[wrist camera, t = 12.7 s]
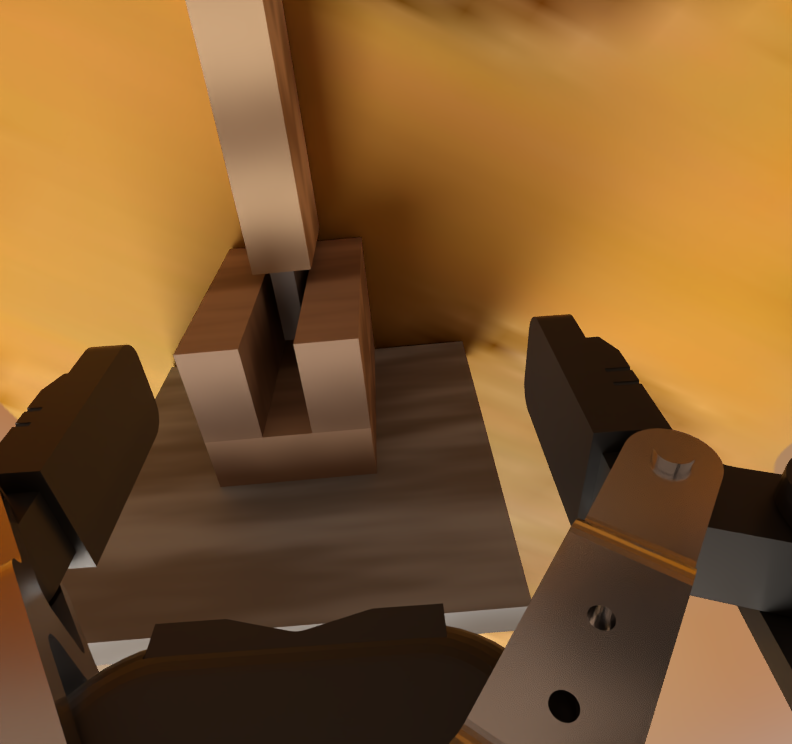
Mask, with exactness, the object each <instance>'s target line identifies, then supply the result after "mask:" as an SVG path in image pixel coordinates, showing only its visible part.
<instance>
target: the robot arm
mask: <svg viewBox="0 0 792 744" xmlns="http://www.w3.org/2000/svg"><path fill="white" fill-rule="evenodd" d="M524 388H525V399H526V405H527V409H528V412H529V414H530V417H531V420H532V422H533V425H534V428H535V430H536V433H537V436H538V438H539V441H540V444H541V447H542V449H543V452H544V455H545V457H546V460H547V463H548V465H549V468H550V471H551V473H552V476H553V479H554V481H555V484H556V487H557V490H558V492H559V495H560V498H561V500H562V503H563V506H564V508H565V511H566V514H567V516H568V519H569V522H570V525H571V528H570V529H569V531H568V533H567V535H566V537H565V538H564V540H563V542H562V544H561V546H560V548H559V549H558V551H557V553H556V555H555V557H554V559H553V561H552V562H551V564H550V566H549V568H548V570H547V572H546V573H545V575H544V577H543V579H542V581H541V583H540V585H539V586H538V588H537V590H536V592H535V594H534V596H533V597H532V599H531V601H530V603H529V605H528V607H527V609H526V610H525V612H524V614H523V616H522V618H521V620H520V621H519V623H518V625H517V627H516V629H515V631H514V633H513V634H512V636H511V638H510V640H509V642H508V644H507V645H506V647H505V648H504V647H502V646H501V645H499V644H497V643H496V642H494V641H492V640H490V639H487V638H485V637H483V636H481V635H478V634H476V633H473V632H470V631H466V630H463V629H460V628H455V627H450V626H446V623H445V615H444V606H443V603H441V604H427V605H413V606H399V607H385V608H372V609H369V610H366V611H363V612H360V613H356V614H353V615H350V616H347V617H344V618H341V619H338V620H334V621H331V622H328V623H325V624H322V625H319V626H316V627H312V628H309V629H306V630H302V631H288V630H282V629H277V628H272V627H266V626H261V625H256V624H250V623H245V622H240V621H235V620H229V619H218V620H204V621H190V622H176V623H162V624H155V626H154V629H153V632H152V636H151V639H150V642H149V645H148V648H147V649H146V650H143V651H140V652H137V653H135V654H133V655H131V656H128V657H126V658H124V659H122V660H120V661H118V662H116V663H114V664H112V665H111V666H109V667H107V668H105V669H104V670H102V671H101V672H99V671H98V669H97V666H96V664H95V662H94V659H93V656H92V654H91V651H90V649H89V646H88V644H87V641H86V638H85V636H84V633H83V631H82V628H81V625H80V623H79V620H78V618H77V615H76V613H75V610H74V607H73V605H72V602H71V600H70V597H69V594H68V592H67V590H66V588H65V587H64V585H63V584H62V582H61V581H62V579H63V577H64V575H65V573H66V571H67V569H73V568H87V567H97V565H98V562H99V560H100V558H101V556H102V554H103V552H104V549H105V547H106V545H107V543H108V541H109V538H110V536H111V534H112V532H113V530H114V528H115V525H116V523H117V521H118V519H119V517H120V514H121V512H122V510H123V508H124V506H125V504H126V501H127V499H128V497H129V495H130V493H131V491H132V488H133V486H134V484H135V482H136V480H137V477H138V475H139V473H140V471H141V469H142V467H143V464H144V462H145V460H146V458H147V456H148V453H149V451H150V449H151V447H152V445H153V443H154V440H155V438H156V436H157V433H158V429H159V412H158V407H157V404H156V401H155V399H154V396H153V393H152V391H151V388H150V386H149V383H148V380H147V378H146V375H145V373H144V370H143V367H142V365H141V362H140V360H139V357H138V355H137V353H136V351H135V349H134V348H133V347H132V346H130V345H116V346H102V347H91V348H88V349H87V350H86V351H85V352H84V353H83V355H82V356H81V357H80V358H79V360H78V361H77V362H76V364H75V365H74V366H73V368H72V369H71V370H70V372H69V373H67V374H63V375H62V376H60V377H59V378H58V379H56V380H55V381H54V382H52V383H51V384H49V385H48V386H47V387H45V388H44V389H42V390H41V391H40V393H39V394H38V395H37V396H36V398H35V399H34V400H33V402H32V403H31V404H30V405H29V407H28V408H27V409H28V411H27V412H24V413H23V414H22V415H21V417H20V418H19V419H18V421H17V422H16V427H12V428H11V429H10V431H9V432H8V433H7V435H6V436H5V437H4V438H3V440H2V441H1V442H0V744H645V741H646V737H647V734H648V731H649V728H650V725H651V721H652V718H653V715H654V711H655V708H656V705H657V701H658V698H659V695H660V692H661V688H662V685H663V682H664V678H665V675H666V671H667V669H668V665H669V662H670V658H671V655H672V652H673V649H674V645H675V642H676V639H677V636H678V632H679V629H680V625H681V622H682V619H683V616H684V612H685V609H686V606H687V603H688V599H689V596H690V595H691V596H696V597H700V598H705V599H709V600H714V601H719V602H723V603H728V604H733V605H737V606H738V608H739V610H740V612H741V614H742V616H743V618H744V619H745V622H746V624H747V626H748V628H749V629H750V631H751V633H752V635H753V637H754V639H755V641H756V643H757V645H758V647H759V649H760V651H761V653H762V654H763V656H764V658H765V660H766V662H767V664H768V666H769V668H770V670H771V672H772V674H773V675H774V678H775V679H776V681H777V683H778V685H779V687H780V689H781V691H782V693H783V695H784V697H785V699H786V701H787V703H788V704H789V706H790V708H791V710H792V459H791V460H790V461H789V462H788V464H787V466H786V468H785V470H784V472H783V474H782V475H781V474H775V473H768V472H762V471H756V470H749V469H743V468H737V467H732V466H727V465H724V464H722V461H721V459H720V458H719V456H718V455H717V453H716V452H715V451H714V450H713V449H712V448H711V447H709V446H708V445H707V444H706V443H704V442H702V441H701V440H699V439H697V438H695V437H693V436H691V435H689V434H686V433H683V432H680V431H676V430H672V428H671V427H670V425H669V424H668V422H667V421H666V419H665V418H664V416H663V415H662V413H661V412H660V410H659V409H658V408H657V406H656V405H655V403H654V402H653V400H652V399H651V397H650V396H649V394H648V393H647V391H646V390H645V388H644V387H643V385H642V384H639V379H638V378H637V376H636V375H635V373H634V372H633V371H632V370H630V366H629V365H628V363H627V362H626V360H625V359H624V357H623V356H622V354H621V353H620V351H619V350H618V349H616V348H615V347H613V346H612V345H610V344H609V343H607V342H606V341H604V340H603V339H601V338H600V337H589V338H586V337H585V336H584V334H583V332H582V331H581V329H580V327H579V326H578V324H577V322H576V321H575V319H574V318H573V316H572V315H570V314H568V315H553V316H539V317H533V318H532V319H531V322H530V327H529V337H528V348H527V359H526V369H525V381H524Z"/></svg>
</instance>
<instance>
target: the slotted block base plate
mask: <svg viewBox="0 0 792 744" xmlns="http://www.w3.org/2000/svg"><path fill="white" fill-rule="evenodd" d="M173 356H174V359H175V362H176V365H177V367H172V368H171V370H170V372H169V374H168V376H167V378H166V380H165V381H164V383H163V385H162V387H161V389H160V391H159V393H158V395H157V397H156V399H155V401H156V404H157V407H158V412H159V429H158V433H157V436H156V438H155V440H154V443H153V445H152V447H151V449H150V451H149V453H148V456H147V458H146V460H145V462H144V464H143V467H142V469H141V471H140V473H139V475H138V477H137V480H136V482H135V484H134V486H133V488H132V491H131V493H130V495H129V497H128V499H127V501H126V504H125V506H124V508H123V510H122V512H121V514H120V517H119V519H118V521H117V523H116V525H115V528H114V530H113V532H112V534H111V536H110V538H109V541H108V543H107V545H106V547H105V549H104V552H103V554H102V556H101V558H100V560H99V562H98V565H97V567H87V568H73V569H67V571H66V573H65V575H64V577H63V579H62V581H61V582H62V584H63V585H64V587H65V588H66V590H67V592H68V594H69V597H70V600H71V602H72V605H73V607H74V610H75V613H76V615H77V618H78V620H79V623H80V625H81V628H82V631H83V633H84V636H85V638H86V641H87V644H88V646H89V649H90V651H91V654H92V656H93V659H94V662H95V664H96V666H97V665H108V664H114V663H116V662H118V661H120V660H122V659H124V658H126V657H128V656H131V655H133V654H135V653H137V652H140V651H143V650H146V649H147V648H148V645H149V642H150V639H151V636H152V632H153V629H154V626H155V624H162V623H176V622H190V621H204V620H218V619H229V620H235V621H240V622H245V623H250V624H256V625H261V626H266V627H272V628H277V629H282V630H288V631H302V630H306V629H309V628H312V627H316V626H319V625H322V624H325V623H328V622H331V621H334V620H338V619H341V618H344V617H347V616H350V615H353V614H356V613H360V612H363V611H366V610H369V609H372V608H385V607H399V606H413V605H427V604H441V603H443V606H444V615H445V623H446V626H450V627H455V628H460V629H463V630H466V631H470V632H473V633H476V634H481V633H493V632H505V631H515V629H516V627H517V625H518V623H519V621H520V620H521V618H522V616H523V614H524V612H525V610H526V609H527V607H528V605H529V603H530V601H531V597H530V593H529V590H528V586H527V582H526V578H525V575H524V571H523V567H522V563H521V560H520V556H519V552H518V548H517V545H516V541H515V537H514V533H513V530H512V526H511V522H510V518H509V515H508V511H507V507H506V503H505V500H504V496H503V492H502V488H501V485H500V481H499V477H498V473H497V470H496V466H495V462H494V458H493V455H492V451H491V447H490V443H489V440H488V436H487V432H486V428H485V425H484V421H483V417H482V413H481V410H480V406H479V402H478V398H477V395H476V391H475V387H474V383H473V380H472V376H471V372H470V368H469V365H468V361H467V357H466V353H465V350H464V346H463V342H462V341H460V342H449V343H437V344H426V345H415V346H404V347H393V348H382V349H375V347H374V338H373V330H372V322H371V313H370V305H369V297H368V288H367V280H366V271H365V263H364V255H363V246H362V238H361V237H357V238H346V239H335V240H324V241H317V243H316V247H315V252H314V257H313V262H312V267H311V270H309V273H308V278H307V283H306V287H305V292H304V297H303V301H302V306H301V311H300V316H299V320H298V325H297V330H296V334H295V339H294V340H285V338H284V333H283V329H282V324H281V320H280V316H279V311H278V307H277V302H276V298H275V293H274V289H273V284H272V280H271V276H270V273H268V274H257V275H252V271H251V267H250V263H249V259H248V255H247V251H246V248H237V249H230V250H229V252H228V254H227V256H226V258H225V259H224V261H223V263H222V265H221V267H220V269H219V271H218V272H217V274H216V276H215V278H214V280H213V282H212V284H211V285H210V287H209V289H208V291H207V293H206V295H205V297H204V299H203V300H202V302H201V304H200V306H199V308H198V310H197V312H196V313H195V315H194V317H193V319H192V321H191V323H190V325H189V326H188V328H187V330H186V332H185V334H184V336H183V338H182V339H181V341H180V343H179V345H178V347H177V349H176V351H175V353H174V354H173Z"/></svg>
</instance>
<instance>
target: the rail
mask: <svg viewBox="0 0 792 744" xmlns="http://www.w3.org/2000/svg"><path fill="white" fill-rule="evenodd" d="M185 1H186V5H187V9H188V13H189V17H190V21H191V25H192V30H193V34H194V38H195V42H196V46H197V50H198V54H199V58H200V62H201V66H202V70H203V75H204V79H205V83H206V87H207V91H208V95H209V99H210V103H211V107H212V111H213V115H214V120H215V124H216V128H217V132H218V136H219V140H220V144H221V148H222V152H223V156H224V160H225V165H226V169H227V173H228V177H229V181H230V185H231V189H232V193H233V197H234V201H235V206H236V210H237V214H238V218H239V222H240V226H241V230H242V234H243V238H244V242H245V246H246V251H247V255H248V259H249V263H250V267H251V271H252V275H257V274H268V273H270V276H271V280H272V284H273V289H274V293H275V298H276V302H277V307H278V311H279V316H280V320H281V324H282V329H283V333H284V338H285V340H294V339H295V334H296V330H297V325H298V320H299V316H300V311H301V306H302V301H303V297H304V292H305V287H306V283H307V278H308V273H309V270H311V267H312V262H313V257H314V252H315V247H316V243H317V238H318V233H319V223H318V216H317V210H316V204H315V198H314V192H313V186H312V180H311V174H310V168H309V161H308V155H307V149H306V143H305V137H304V131H303V125H302V119H301V113H300V106H299V100H298V94H297V88H296V82H295V76H294V70H293V64H292V58H291V51H290V45H289V39H288V33H287V27H286V21H285V15H284V9H283V3H282V0H185Z"/></svg>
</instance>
